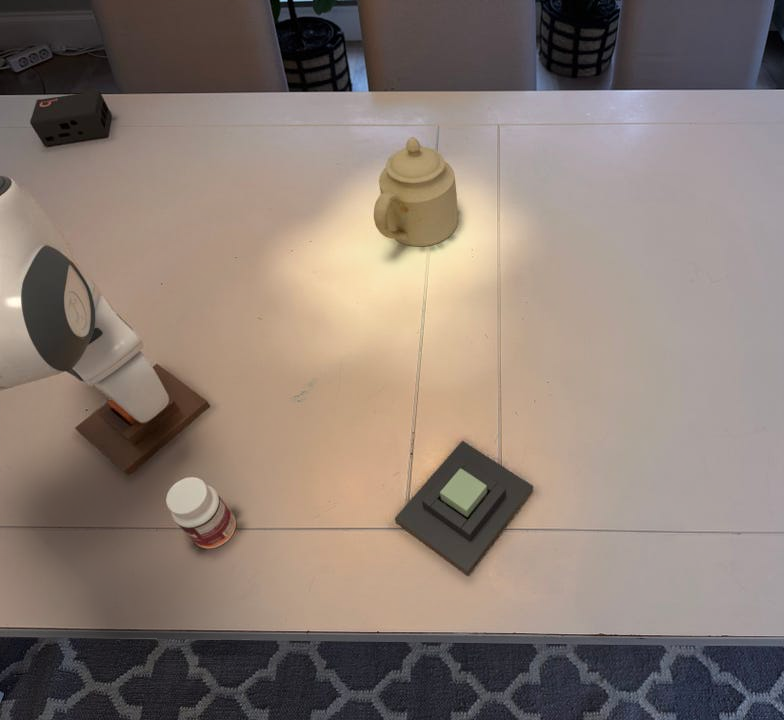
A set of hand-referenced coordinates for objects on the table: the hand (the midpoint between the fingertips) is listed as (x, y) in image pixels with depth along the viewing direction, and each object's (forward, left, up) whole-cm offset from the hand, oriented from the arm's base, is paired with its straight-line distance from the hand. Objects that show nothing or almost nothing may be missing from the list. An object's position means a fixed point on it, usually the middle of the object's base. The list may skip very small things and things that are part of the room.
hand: (123, 397), depth 79 cm
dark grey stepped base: (+14, -39, -5) cm, 42 cm away
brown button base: (0, 0, -5) cm, 5 cm away
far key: (0, 0, -3) cm, 3 cm away
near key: (+14, -39, -3) cm, 42 cm away
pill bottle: (-4, -18, -5) cm, 20 cm away
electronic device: (+31, +62, -5) cm, 70 cm away
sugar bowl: (+46, -6, -5) cm, 47 cm away
